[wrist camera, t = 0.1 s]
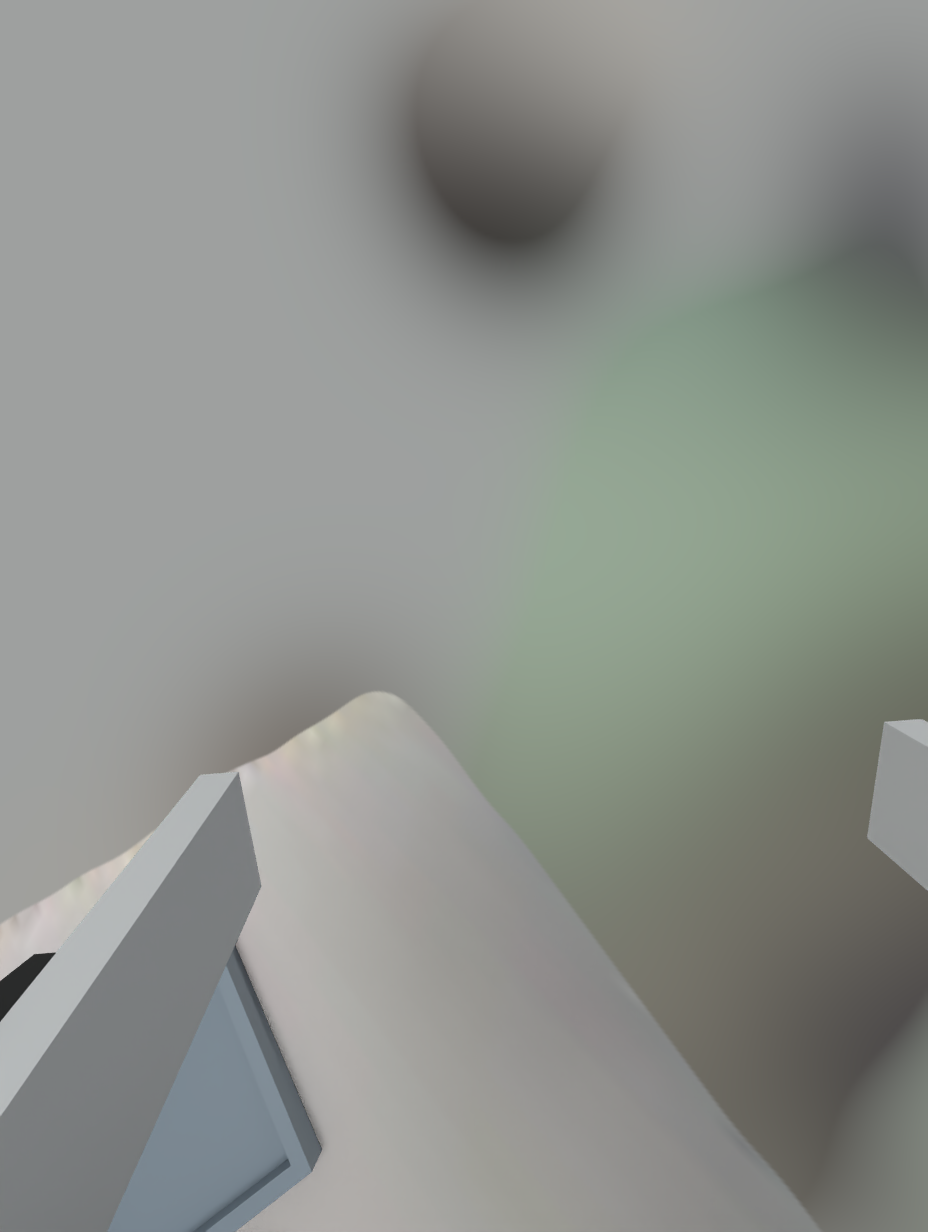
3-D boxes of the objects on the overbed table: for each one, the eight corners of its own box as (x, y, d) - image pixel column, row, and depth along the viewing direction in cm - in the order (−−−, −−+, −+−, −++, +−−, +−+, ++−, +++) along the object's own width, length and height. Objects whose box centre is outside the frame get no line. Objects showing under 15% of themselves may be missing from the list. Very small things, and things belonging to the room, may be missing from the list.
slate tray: (321, 1149, 37) (311, 1171, 35) (98, 1322, 34) (71, 1359, 32) (227, 926, 42) (212, 933, 40) (24, 1062, 39) (-4, 1077, 37)
